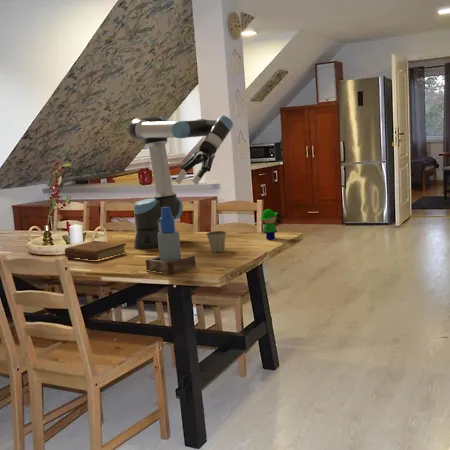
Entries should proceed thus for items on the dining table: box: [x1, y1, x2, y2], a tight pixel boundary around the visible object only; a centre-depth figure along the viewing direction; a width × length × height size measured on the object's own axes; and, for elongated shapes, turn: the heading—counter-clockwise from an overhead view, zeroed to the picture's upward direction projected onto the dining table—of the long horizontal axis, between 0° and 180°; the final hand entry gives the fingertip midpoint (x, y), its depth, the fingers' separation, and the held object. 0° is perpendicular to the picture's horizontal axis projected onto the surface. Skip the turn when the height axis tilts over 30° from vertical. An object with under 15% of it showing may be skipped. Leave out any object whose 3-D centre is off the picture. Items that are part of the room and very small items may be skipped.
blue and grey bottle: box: [157, 207, 182, 262], centre depth 248 cm, size 9×9×25 cm
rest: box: [145, 255, 197, 276], centre depth 250 cm, size 15×14×5 cm
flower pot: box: [206, 230, 227, 253], centre depth 279 cm, size 9×9×9 cm
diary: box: [64, 240, 126, 260], centre depth 291 cm, size 23×19×6 cm
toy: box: [260, 208, 281, 241], centre depth 298 cm, size 9×9×15 cm
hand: (185, 182), depth 266 cm, fingers open, 13 cm apart
